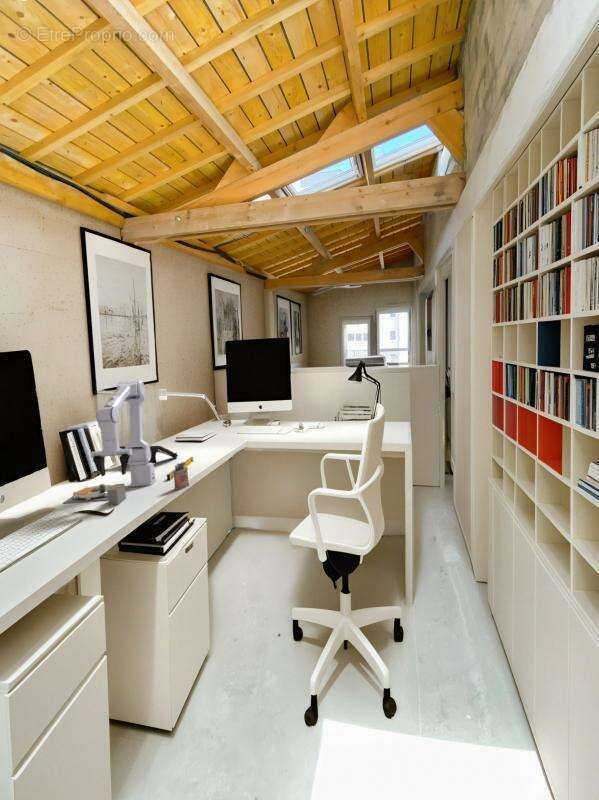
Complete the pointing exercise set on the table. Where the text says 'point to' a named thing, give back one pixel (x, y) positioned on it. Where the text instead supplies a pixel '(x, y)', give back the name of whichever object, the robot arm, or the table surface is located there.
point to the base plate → (72, 500)
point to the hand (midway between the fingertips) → (113, 474)
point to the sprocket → (92, 492)
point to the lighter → (181, 476)
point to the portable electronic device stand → (157, 449)
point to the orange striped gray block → (116, 494)
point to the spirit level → (171, 475)
